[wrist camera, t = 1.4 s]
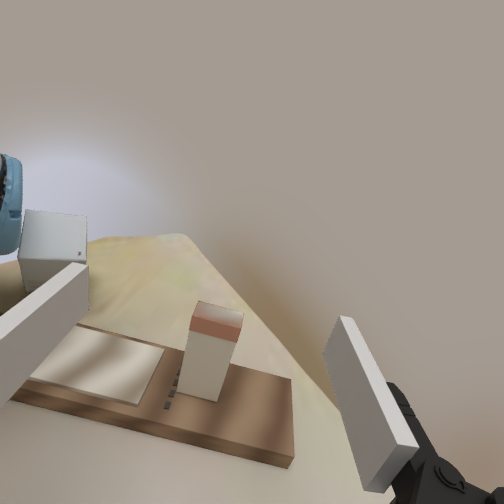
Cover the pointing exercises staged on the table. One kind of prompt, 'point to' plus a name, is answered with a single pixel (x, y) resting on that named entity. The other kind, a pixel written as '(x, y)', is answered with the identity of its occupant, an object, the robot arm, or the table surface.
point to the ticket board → (163, 396)
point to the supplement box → (50, 245)
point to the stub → (209, 350)
